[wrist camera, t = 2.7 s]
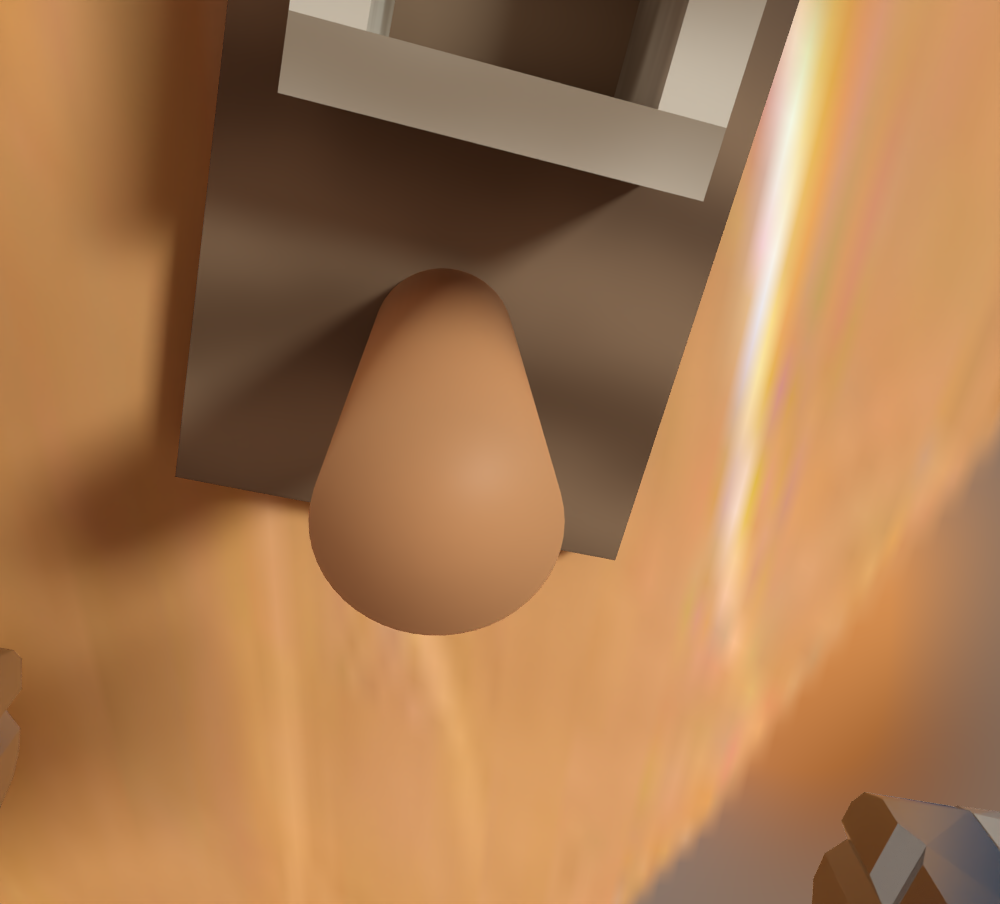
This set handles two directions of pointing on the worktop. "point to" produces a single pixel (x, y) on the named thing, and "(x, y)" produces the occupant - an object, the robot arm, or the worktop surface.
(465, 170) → the well board
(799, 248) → the worktop surface
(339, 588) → the peg
